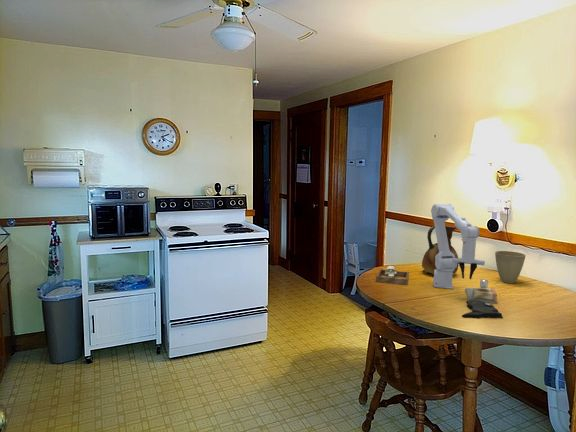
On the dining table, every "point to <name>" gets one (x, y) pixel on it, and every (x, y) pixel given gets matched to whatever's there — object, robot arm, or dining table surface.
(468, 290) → the board
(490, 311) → the stone slab
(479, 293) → the wooden square ring
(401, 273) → the coaster frame
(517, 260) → the plant pot
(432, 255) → the ceramic pitcher
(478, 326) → the dining table surface
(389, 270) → the skull
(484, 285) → the peg
